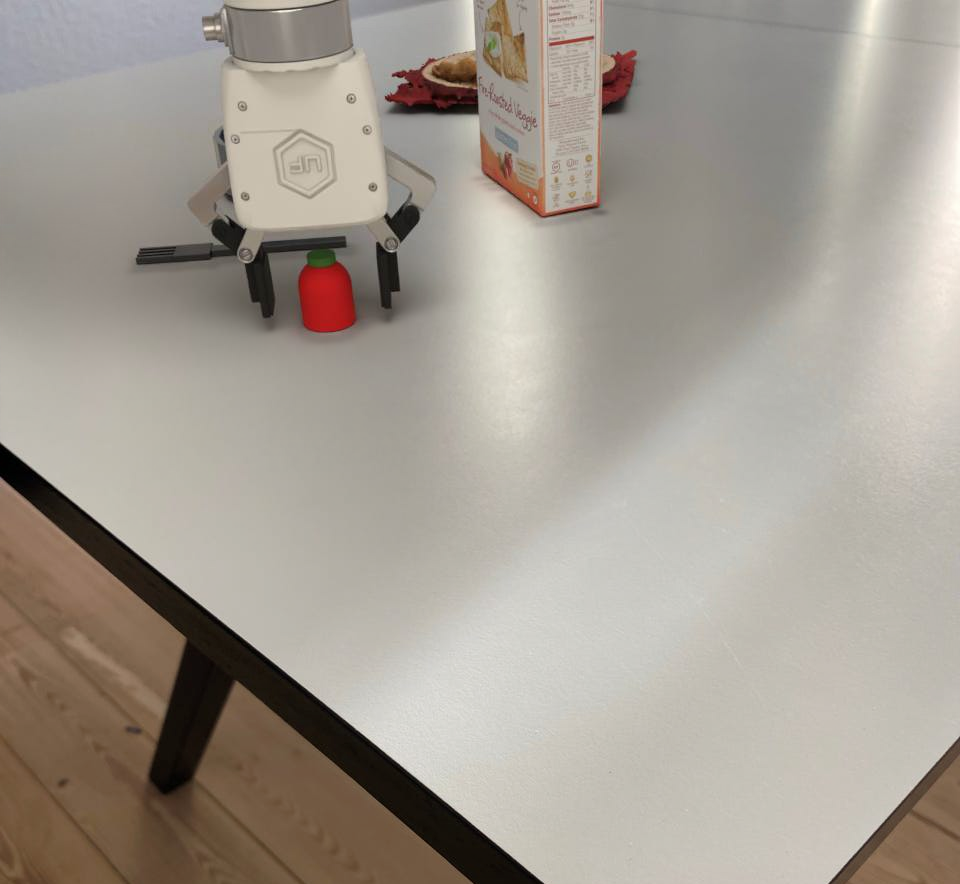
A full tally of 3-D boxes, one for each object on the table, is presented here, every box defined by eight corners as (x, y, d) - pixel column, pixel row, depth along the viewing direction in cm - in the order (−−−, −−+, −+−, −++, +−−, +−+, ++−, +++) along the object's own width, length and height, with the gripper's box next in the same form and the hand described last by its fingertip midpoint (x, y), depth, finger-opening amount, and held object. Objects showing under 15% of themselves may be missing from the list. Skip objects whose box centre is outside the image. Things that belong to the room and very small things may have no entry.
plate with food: (623, 117, 117) (625, 81, 115) (385, 110, 121) (383, 76, 119) (636, 65, 135) (638, 33, 133) (429, 60, 139) (428, 29, 137)
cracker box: (476, 173, 105) (465, -92, 91) (535, 163, 106) (532, -99, 93) (538, 220, 95) (535, -71, 81) (602, 207, 96) (609, -79, 83)
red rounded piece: (302, 334, 79) (291, 266, 76) (304, 312, 82) (294, 245, 79) (356, 330, 79) (347, 262, 76) (356, 308, 82) (348, 241, 79)
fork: (346, 249, 91) (345, 243, 91) (136, 264, 91) (135, 258, 90) (346, 238, 93) (345, 233, 93) (141, 253, 93) (139, 247, 92)
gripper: (138, 56, 65) (200, 337, 77) (434, 36, 66) (452, 318, 77) (156, 28, 71) (211, 294, 82) (429, 10, 72) (446, 276, 83)
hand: (328, 304), depth 80 cm, fingers open, 7 cm apart
